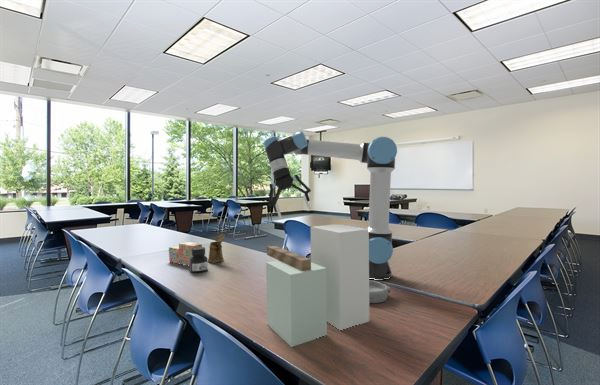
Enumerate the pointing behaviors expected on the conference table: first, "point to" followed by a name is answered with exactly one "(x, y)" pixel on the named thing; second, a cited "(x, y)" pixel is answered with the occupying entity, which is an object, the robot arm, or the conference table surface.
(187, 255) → the stack of blocks
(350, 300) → the off-white rectangular block
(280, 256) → the walnut bar
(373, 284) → the dish
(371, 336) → the conference table surface
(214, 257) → the brown burlap sack
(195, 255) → the ink bottle
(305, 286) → the low stand
